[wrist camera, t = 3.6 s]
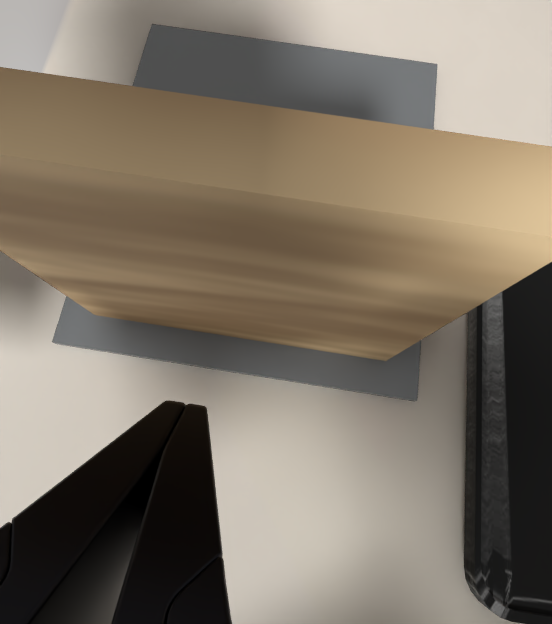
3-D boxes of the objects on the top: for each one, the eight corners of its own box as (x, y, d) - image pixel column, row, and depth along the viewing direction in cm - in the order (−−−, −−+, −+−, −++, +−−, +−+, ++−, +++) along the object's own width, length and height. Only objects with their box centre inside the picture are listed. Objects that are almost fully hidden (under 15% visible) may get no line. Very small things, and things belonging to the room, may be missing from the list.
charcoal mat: (414, 401, 15) (417, 400, 15) (55, 343, 16) (52, 342, 15) (435, 69, 20) (437, 64, 19) (153, 29, 20) (152, 24, 20)
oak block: (385, 361, 15) (584, 241, 6) (94, 315, 16) (-181, 127, 6) (389, 322, 16) (579, 150, 6) (105, 278, 16) (-137, 47, 6)
